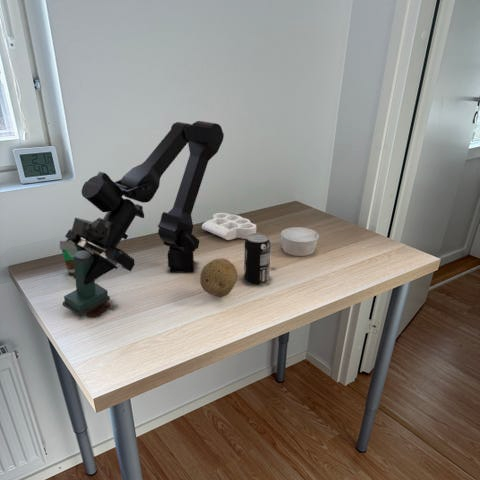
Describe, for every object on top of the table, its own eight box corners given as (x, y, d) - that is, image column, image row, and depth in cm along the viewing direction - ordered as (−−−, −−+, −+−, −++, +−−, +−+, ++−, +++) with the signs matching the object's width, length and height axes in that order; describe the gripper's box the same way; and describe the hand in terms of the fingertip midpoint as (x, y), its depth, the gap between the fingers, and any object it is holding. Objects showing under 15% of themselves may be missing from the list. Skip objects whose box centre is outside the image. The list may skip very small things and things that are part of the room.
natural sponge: (223, 310, 110) (223, 271, 104) (193, 299, 114) (191, 262, 108) (243, 294, 116) (244, 257, 111) (214, 285, 120) (213, 249, 115)
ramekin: (313, 260, 134) (314, 243, 131) (275, 255, 137) (276, 238, 134) (320, 246, 143) (322, 229, 140) (284, 241, 146) (285, 225, 143)
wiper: (92, 289, 114) (89, 241, 106) (110, 299, 112) (108, 252, 104) (62, 305, 108) (56, 256, 100) (80, 317, 106) (76, 268, 97)
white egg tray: (195, 229, 153) (229, 219, 162) (231, 245, 142) (265, 233, 150) (195, 219, 152) (229, 209, 160) (231, 234, 140) (266, 223, 149)
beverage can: (243, 274, 126) (243, 232, 119) (267, 274, 126) (269, 232, 120) (245, 286, 120) (246, 242, 114) (270, 285, 121) (272, 241, 114)
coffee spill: (102, 299, 113) (102, 299, 113) (117, 306, 111) (117, 306, 111) (77, 311, 109) (77, 311, 108) (92, 319, 106) (92, 319, 106)
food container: (87, 279, 122) (80, 244, 117) (65, 277, 123) (58, 241, 118) (107, 260, 133) (102, 226, 127) (87, 258, 134) (81, 224, 128)
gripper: (67, 193, 105) (29, 252, 103) (119, 214, 95) (79, 279, 93) (99, 219, 114) (66, 274, 112) (151, 241, 104) (114, 301, 102)
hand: (79, 281), depth 105 cm, fingers closed on wiper, 3 cm apart
